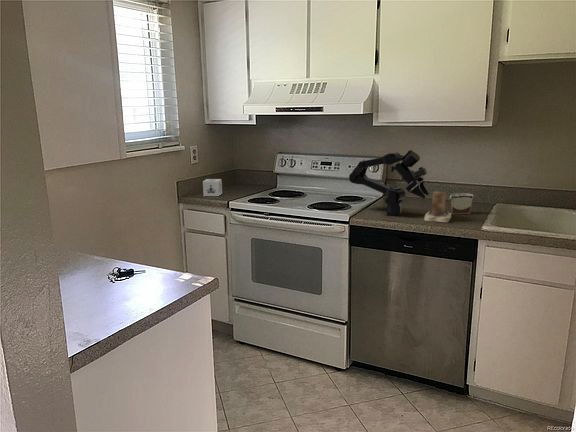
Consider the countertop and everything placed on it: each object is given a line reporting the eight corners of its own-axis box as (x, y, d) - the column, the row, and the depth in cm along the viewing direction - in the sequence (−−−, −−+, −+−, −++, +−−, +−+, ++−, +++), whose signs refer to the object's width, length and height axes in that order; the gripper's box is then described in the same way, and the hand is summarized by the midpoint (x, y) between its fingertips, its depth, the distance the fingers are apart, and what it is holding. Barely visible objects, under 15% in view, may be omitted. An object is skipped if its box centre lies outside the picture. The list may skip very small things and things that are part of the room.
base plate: (424, 220, 233) (424, 213, 232) (428, 215, 242) (428, 209, 242) (447, 222, 228) (448, 215, 227) (451, 217, 238) (451, 211, 237)
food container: (467, 211, 252) (469, 192, 249) (472, 213, 246) (474, 194, 243) (445, 211, 251) (446, 193, 249) (449, 214, 245) (450, 195, 243)
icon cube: (207, 194, 311) (206, 179, 309) (222, 194, 310) (221, 179, 308) (203, 197, 301) (202, 181, 299) (219, 197, 301) (218, 181, 298)
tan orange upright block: (431, 214, 233) (432, 192, 231) (433, 212, 238) (434, 190, 236) (443, 215, 231) (444, 193, 228) (444, 213, 236) (446, 191, 233)
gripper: (413, 164, 226) (436, 188, 223) (421, 160, 242) (442, 182, 240) (396, 179, 231) (418, 203, 229) (404, 174, 247) (425, 196, 245)
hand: (426, 196), depth 235 cm, fingers open, 9 cm apart
